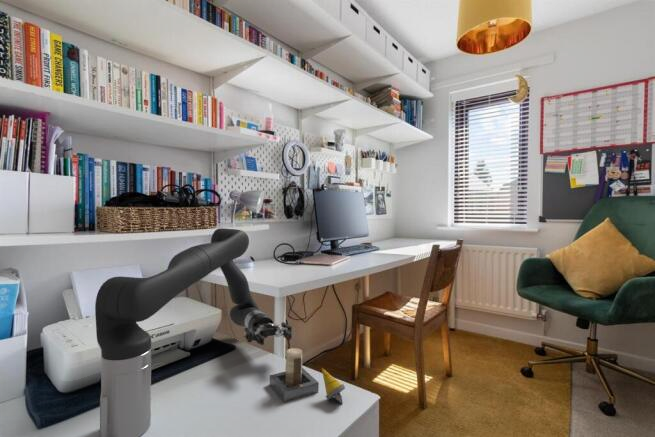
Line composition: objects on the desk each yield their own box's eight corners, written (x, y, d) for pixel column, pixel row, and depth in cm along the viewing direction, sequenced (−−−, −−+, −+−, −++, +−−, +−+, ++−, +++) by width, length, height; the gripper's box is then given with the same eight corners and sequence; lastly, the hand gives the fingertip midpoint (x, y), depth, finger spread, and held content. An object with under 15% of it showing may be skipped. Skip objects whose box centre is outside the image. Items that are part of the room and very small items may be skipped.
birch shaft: (289, 393, 87) (290, 356, 87) (282, 386, 91) (283, 350, 90) (304, 389, 89) (305, 352, 89) (297, 382, 93) (297, 347, 93)
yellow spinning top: (331, 412, 80) (310, 374, 85) (336, 410, 85) (316, 374, 89) (349, 398, 80) (327, 361, 85) (353, 397, 85) (332, 362, 90)
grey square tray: (284, 402, 83) (284, 391, 83) (269, 384, 91) (269, 374, 91) (318, 391, 88) (318, 381, 88) (301, 375, 97) (301, 366, 97)
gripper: (237, 315, 108) (253, 330, 94) (278, 310, 115) (298, 323, 101) (237, 338, 108) (253, 356, 94) (277, 331, 115) (298, 347, 101)
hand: (276, 339), depth 98 cm, fingers open, 8 cm apart
